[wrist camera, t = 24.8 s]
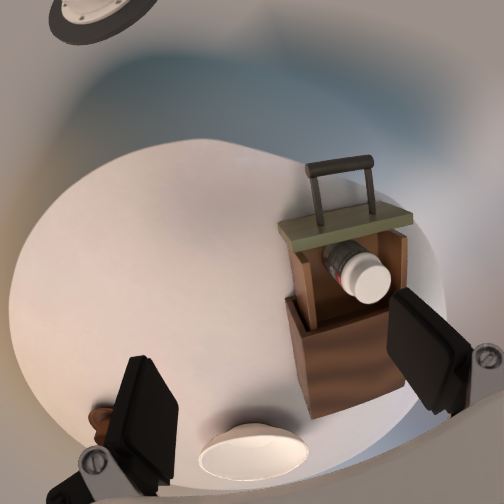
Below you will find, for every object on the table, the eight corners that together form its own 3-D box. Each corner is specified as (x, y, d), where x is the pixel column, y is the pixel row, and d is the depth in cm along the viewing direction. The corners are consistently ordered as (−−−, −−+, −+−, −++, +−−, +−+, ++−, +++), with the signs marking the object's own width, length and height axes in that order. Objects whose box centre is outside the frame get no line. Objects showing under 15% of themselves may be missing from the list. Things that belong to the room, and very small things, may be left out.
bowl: (224, 462, 49) (226, 486, 43) (179, 418, 42) (177, 449, 36) (309, 440, 48) (317, 464, 42) (285, 390, 42) (294, 422, 35)
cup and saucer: (85, 395, 39) (75, 419, 33) (145, 409, 41) (140, 436, 35) (97, 430, 43) (91, 452, 37) (151, 442, 45) (147, 465, 39)
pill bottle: (313, 260, 32) (340, 294, 24) (338, 227, 31) (373, 252, 23) (341, 279, 33) (372, 314, 25) (365, 249, 32) (401, 277, 24)
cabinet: (284, 298, 36) (301, 338, 28) (384, 271, 36) (419, 299, 28) (298, 379, 41) (311, 420, 33) (380, 353, 41) (404, 386, 33)
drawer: (266, 167, 29) (278, 171, 23) (375, 150, 29) (408, 152, 23) (295, 327, 36) (308, 360, 30) (383, 301, 37) (408, 326, 30)
